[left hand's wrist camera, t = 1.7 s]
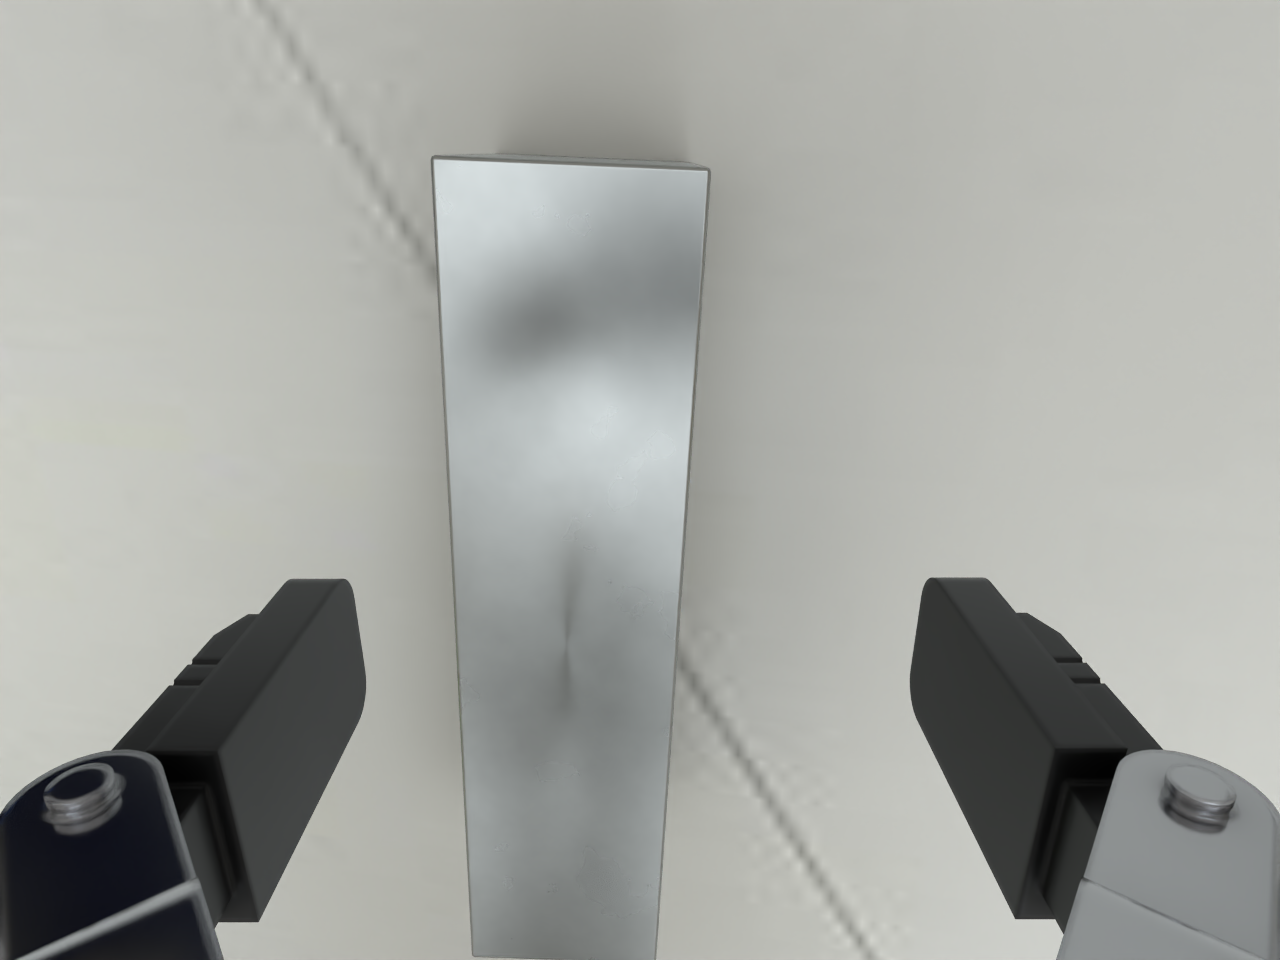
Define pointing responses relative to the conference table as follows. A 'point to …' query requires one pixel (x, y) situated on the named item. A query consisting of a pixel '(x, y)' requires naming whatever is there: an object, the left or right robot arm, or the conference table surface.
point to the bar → (567, 530)
